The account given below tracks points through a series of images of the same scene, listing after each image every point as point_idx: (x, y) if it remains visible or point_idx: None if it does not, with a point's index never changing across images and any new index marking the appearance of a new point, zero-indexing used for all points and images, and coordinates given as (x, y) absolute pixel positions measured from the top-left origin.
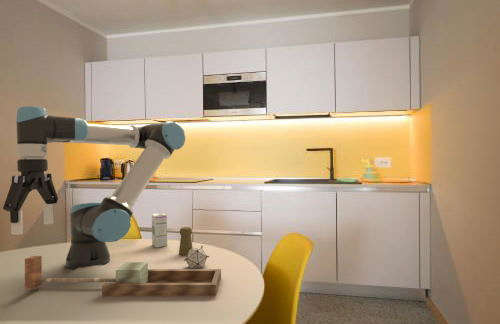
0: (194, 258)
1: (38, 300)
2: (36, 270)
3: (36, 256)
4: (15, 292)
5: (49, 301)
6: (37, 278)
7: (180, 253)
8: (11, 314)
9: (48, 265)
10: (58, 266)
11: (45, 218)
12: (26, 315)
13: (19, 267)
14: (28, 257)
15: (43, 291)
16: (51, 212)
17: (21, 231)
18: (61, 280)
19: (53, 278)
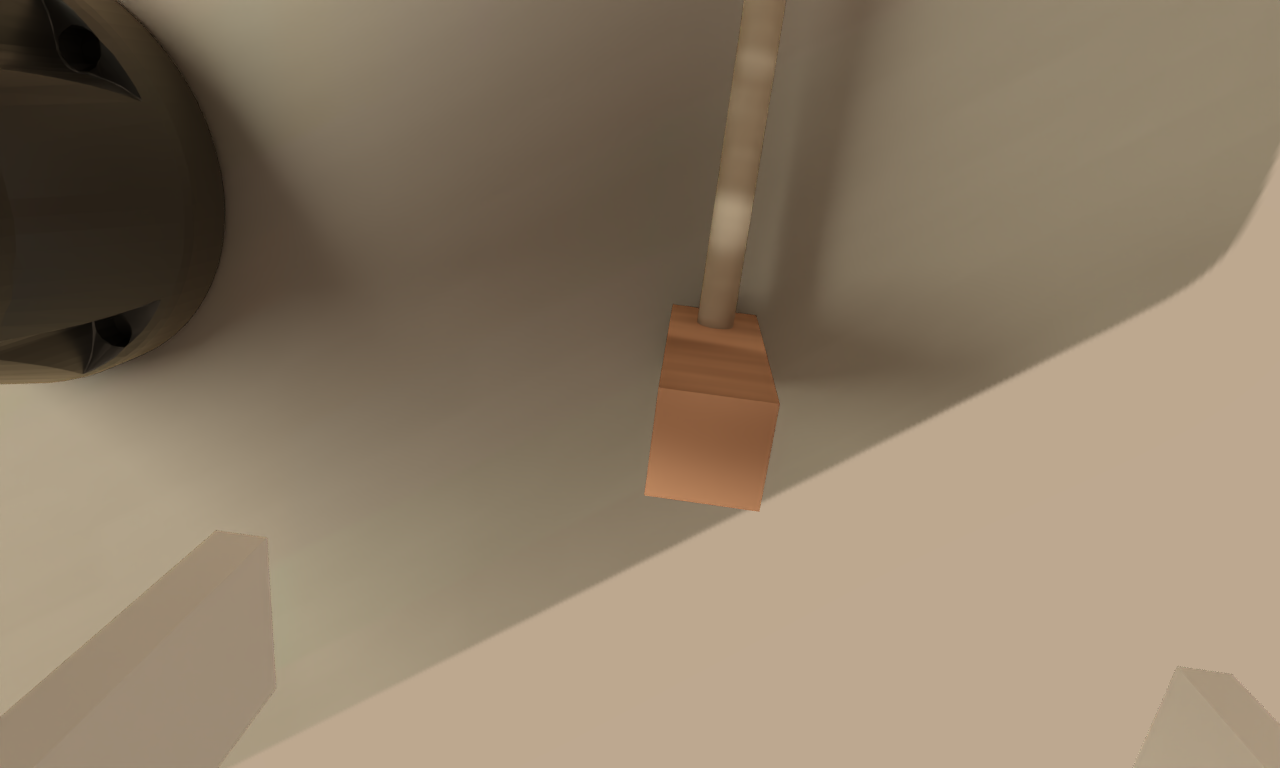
0: None
1: (932, 195)
2: (743, 355)
3: (685, 429)
4: None
5: (978, 89)
6: (727, 331)
7: None
8: (1156, 264)
9: (141, 504)
10: (158, 412)
11: (193, 758)
12: (1217, 139)
13: None
14: (711, 497)
15: None
16: (57, 756)
17: (1258, 710)
18: (771, 89)
19: (742, 181)
